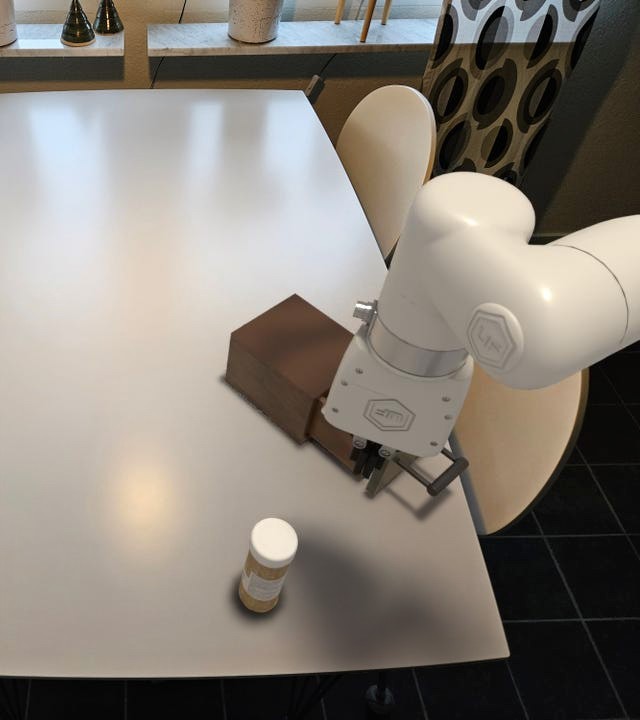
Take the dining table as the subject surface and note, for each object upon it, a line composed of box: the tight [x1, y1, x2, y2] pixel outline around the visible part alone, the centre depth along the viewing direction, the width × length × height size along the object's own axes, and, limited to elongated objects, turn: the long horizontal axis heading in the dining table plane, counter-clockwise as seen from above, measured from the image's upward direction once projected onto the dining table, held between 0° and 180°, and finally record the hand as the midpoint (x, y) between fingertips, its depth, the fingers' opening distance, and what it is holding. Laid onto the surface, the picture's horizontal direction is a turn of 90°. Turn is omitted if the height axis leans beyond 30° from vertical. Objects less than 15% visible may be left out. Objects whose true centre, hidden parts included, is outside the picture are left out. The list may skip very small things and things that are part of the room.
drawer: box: [307, 391, 470, 498], centre depth 81 cm, size 19×11×8 cm, turn 40°
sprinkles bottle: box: [238, 517, 299, 613], centre depth 67 cm, size 5×5×14 cm
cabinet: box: [224, 293, 355, 445], centre depth 88 cm, size 15×13×10 cm
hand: (363, 465), depth 63 cm, fingers closed
